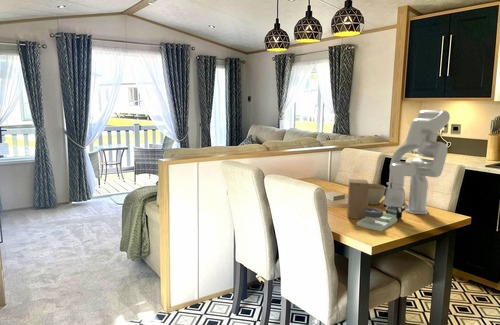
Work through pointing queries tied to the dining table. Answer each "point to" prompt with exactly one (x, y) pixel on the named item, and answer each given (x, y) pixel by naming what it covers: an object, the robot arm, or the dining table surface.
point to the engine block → (393, 211)
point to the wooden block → (357, 198)
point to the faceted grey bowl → (370, 213)
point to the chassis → (378, 222)
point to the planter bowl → (375, 193)
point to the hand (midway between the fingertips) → (393, 217)
